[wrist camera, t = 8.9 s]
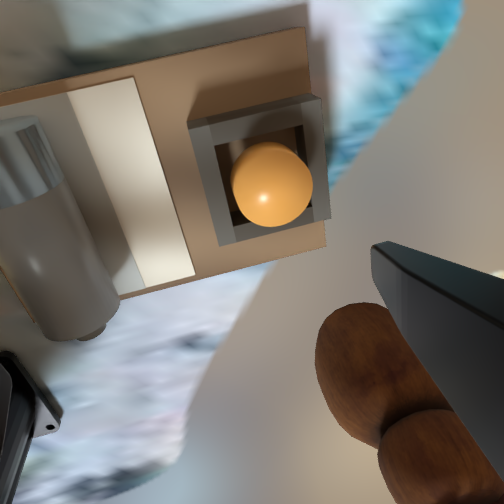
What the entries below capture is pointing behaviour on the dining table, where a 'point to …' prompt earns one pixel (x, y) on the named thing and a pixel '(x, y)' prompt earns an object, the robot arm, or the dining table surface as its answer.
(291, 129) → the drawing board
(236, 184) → the button
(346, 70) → the dining table surface
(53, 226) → the cylinder
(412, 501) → the wooden figurine
